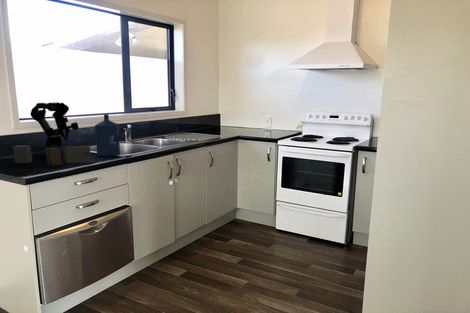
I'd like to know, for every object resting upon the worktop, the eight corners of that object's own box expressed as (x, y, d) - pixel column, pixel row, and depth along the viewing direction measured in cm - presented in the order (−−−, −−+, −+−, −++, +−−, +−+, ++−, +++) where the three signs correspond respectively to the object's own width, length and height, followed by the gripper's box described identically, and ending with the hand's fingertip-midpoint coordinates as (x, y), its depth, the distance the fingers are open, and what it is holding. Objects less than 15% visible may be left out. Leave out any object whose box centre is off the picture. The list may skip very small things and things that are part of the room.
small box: (32, 161, 230) (30, 145, 228) (27, 163, 224) (26, 146, 222) (19, 161, 229) (17, 145, 227) (14, 163, 224) (12, 146, 222)
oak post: (47, 164, 221) (45, 148, 219) (56, 162, 225) (54, 147, 223) (52, 165, 216) (50, 149, 215) (61, 164, 221) (60, 148, 219)
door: (63, 163, 222) (61, 147, 220) (64, 162, 225) (63, 146, 223) (90, 162, 224) (88, 146, 222) (91, 161, 227) (90, 146, 225)
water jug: (94, 156, 244) (91, 115, 239) (99, 152, 260) (96, 113, 254) (118, 156, 247) (116, 115, 242) (122, 152, 262) (119, 113, 257)
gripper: (42, 117, 226) (49, 139, 223) (73, 110, 234) (81, 131, 231) (45, 125, 236) (52, 146, 233) (75, 118, 244) (82, 138, 241)
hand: (66, 140), depth 234 cm, fingers closed
